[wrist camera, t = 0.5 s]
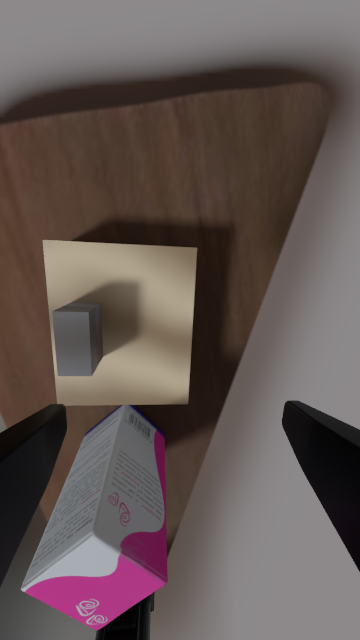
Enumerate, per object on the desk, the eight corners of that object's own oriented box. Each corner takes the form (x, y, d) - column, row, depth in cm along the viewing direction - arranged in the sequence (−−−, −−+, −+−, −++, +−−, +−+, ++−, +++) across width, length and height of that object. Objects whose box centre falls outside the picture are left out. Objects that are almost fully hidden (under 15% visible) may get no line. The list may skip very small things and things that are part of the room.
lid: (186, 398, 20) (193, 430, 16) (61, 399, 19) (38, 433, 15) (195, 248, 17) (205, 244, 13) (48, 240, 16) (15, 234, 12)
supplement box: (82, 435, 23) (13, 593, 12) (127, 398, 23) (96, 528, 12) (124, 469, 25) (95, 638, 14) (167, 434, 24) (173, 582, 13)
